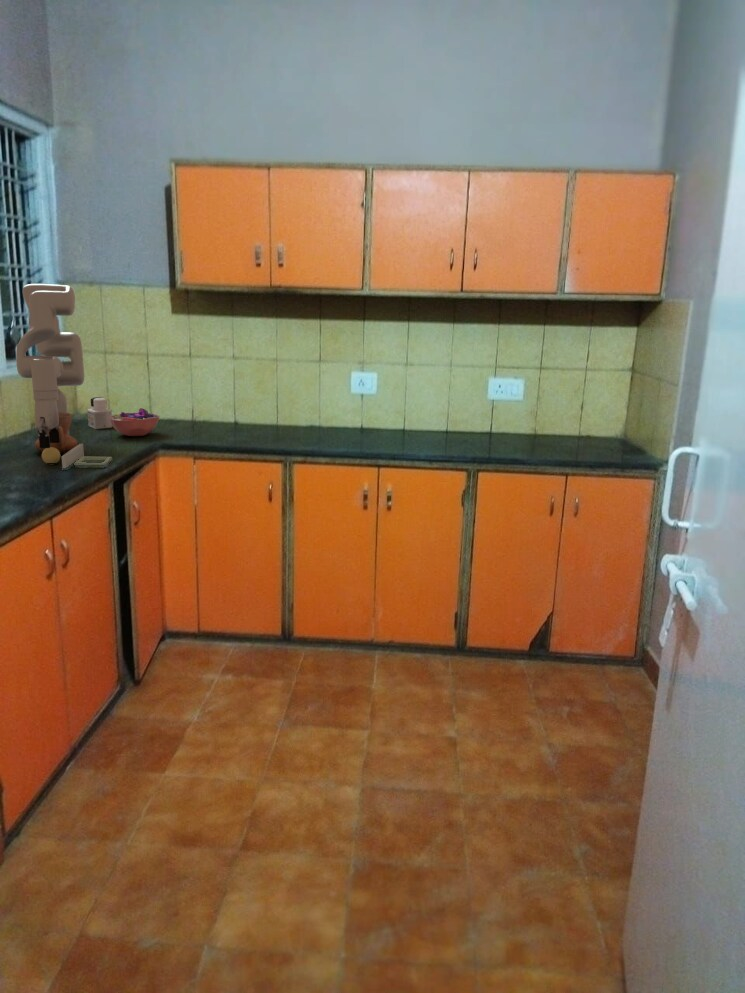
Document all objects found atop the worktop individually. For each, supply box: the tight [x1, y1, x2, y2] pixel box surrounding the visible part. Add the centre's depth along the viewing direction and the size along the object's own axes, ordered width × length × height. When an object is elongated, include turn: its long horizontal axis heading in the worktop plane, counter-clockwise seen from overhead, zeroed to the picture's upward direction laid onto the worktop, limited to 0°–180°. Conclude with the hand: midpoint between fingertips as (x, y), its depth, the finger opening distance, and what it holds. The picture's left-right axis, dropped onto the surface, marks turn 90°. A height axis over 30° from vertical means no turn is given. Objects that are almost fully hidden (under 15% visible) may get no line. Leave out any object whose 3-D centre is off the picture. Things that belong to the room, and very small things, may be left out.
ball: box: [41, 447, 62, 464], centre depth 237 cm, size 6×6×6 cm
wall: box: [61, 443, 85, 469], centre depth 239 cm, size 20×1×5 cm, turn 6°
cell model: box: [110, 407, 161, 437], centre depth 288 cm, size 17×20×11 cm
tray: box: [73, 455, 113, 466], centre depth 239 cm, size 10×10×2 cm
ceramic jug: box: [34, 412, 78, 454], centre depth 253 cm, size 18×14×14 cm
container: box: [86, 396, 113, 430], centre depth 302 cm, size 8×8×13 cm
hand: (50, 445), depth 235 cm, fingers open, 9 cm apart
